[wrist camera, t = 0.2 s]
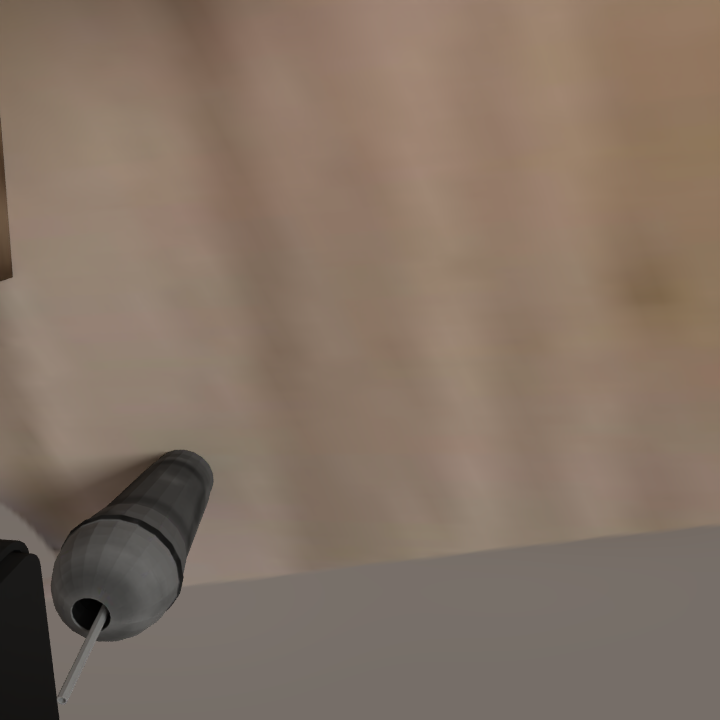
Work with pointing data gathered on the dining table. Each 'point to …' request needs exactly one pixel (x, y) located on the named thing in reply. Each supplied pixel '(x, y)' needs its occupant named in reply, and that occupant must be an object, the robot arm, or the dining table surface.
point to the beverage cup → (130, 556)
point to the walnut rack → (4, 223)
